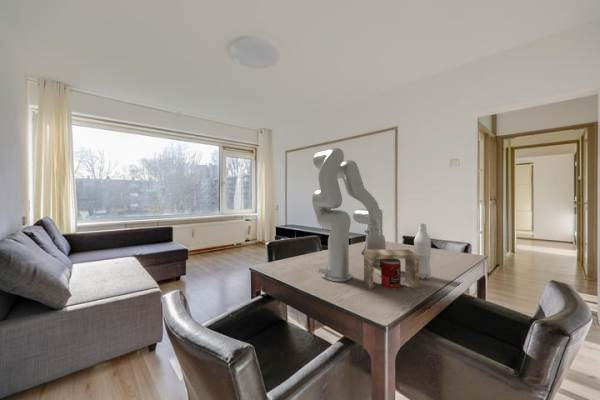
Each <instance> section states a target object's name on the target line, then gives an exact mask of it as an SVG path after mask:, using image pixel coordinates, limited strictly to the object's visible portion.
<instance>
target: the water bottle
mask: <svg viewBox="0 0 600 400" xmlns="http://www.w3.org/2000/svg"><path fill="white" fill-rule="evenodd" d="M417 229H418V232H417V233H416V234H415V235H416V236H415V237H414V239H413V243H414V244H413V246H414V247H413V252H414V253H416V254H418V255H419V280H425V279H427V280H428V279H429V278H431V275H432V268H431V255H432V241H431V238H430V235H429V234H428V232H427V224H426V223H419V224H418V228H417Z"/></svg>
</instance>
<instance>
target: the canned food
mask: <svg viewBox="0 0 600 400" xmlns="http://www.w3.org/2000/svg"><path fill="white" fill-rule="evenodd" d="M401 263H402V262H401V259H381V278H380V280H381V281H380V282H381V285H382V286H383V287H384V288H388V289H391V290H392V289H399V288H401V285H402V284H401V278H402V277H401V276H402V275H401V270H402V269H401V268H402V267H401V266H402V265H401Z"/></svg>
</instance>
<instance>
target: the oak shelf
mask: <svg viewBox="0 0 600 400" xmlns="http://www.w3.org/2000/svg"><path fill="white" fill-rule="evenodd" d="M373 259H399V260H401V259H403V260H405V261H404V266H405V267H404V278H405V279H404V280H405V282H406V283H408V284H409V285H410V286H411V287H412V288H413V289H415V290H419V288H420V287H419V285H420V284H419V283H420V281H419V280H420V278H419V255H418V254H416V253H414V251H412V250H410V249H386V250H364V255H363V281H364V283H365V284H366V286H367V288H368V289H369V290H374V270H373Z"/></svg>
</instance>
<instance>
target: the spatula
mask: <svg viewBox="0 0 600 400" xmlns="http://www.w3.org/2000/svg"><path fill="white" fill-rule="evenodd" d="M373 272H375V273H376V274H377V276H378V277H379V278H380V279H381V268H380V259H373Z"/></svg>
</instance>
